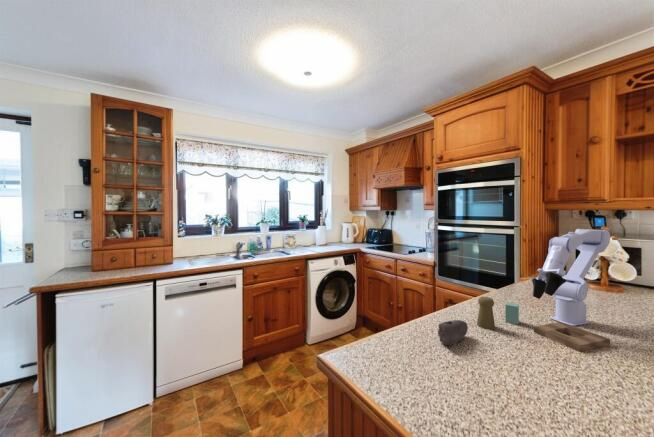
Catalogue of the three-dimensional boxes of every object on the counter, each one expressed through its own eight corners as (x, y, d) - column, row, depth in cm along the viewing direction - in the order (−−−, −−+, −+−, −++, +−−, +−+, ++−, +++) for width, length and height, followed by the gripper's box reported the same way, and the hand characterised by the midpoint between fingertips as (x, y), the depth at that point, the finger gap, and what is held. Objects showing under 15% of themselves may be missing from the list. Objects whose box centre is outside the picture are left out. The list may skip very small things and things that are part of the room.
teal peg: (506, 318, 107) (506, 301, 107) (518, 321, 105) (518, 304, 104) (505, 322, 104) (505, 304, 104) (517, 324, 101) (518, 306, 101)
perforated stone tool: (459, 332, 96) (460, 313, 95) (474, 338, 91) (474, 318, 91) (432, 343, 88) (432, 322, 88) (446, 350, 84) (446, 328, 83)
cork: (498, 330, 97) (498, 300, 97) (480, 328, 98) (480, 299, 98) (491, 323, 103) (491, 295, 103) (474, 322, 104) (474, 294, 104)
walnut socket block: (561, 327, 99) (561, 321, 99) (609, 345, 86) (610, 339, 86) (533, 332, 95) (533, 326, 95) (579, 351, 82) (579, 345, 82)
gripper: (532, 264, 107) (520, 292, 103) (554, 253, 94) (541, 286, 90) (552, 273, 104) (540, 303, 101) (577, 263, 91) (564, 297, 88)
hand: (542, 295), depth 95 cm, fingers open, 7 cm apart
